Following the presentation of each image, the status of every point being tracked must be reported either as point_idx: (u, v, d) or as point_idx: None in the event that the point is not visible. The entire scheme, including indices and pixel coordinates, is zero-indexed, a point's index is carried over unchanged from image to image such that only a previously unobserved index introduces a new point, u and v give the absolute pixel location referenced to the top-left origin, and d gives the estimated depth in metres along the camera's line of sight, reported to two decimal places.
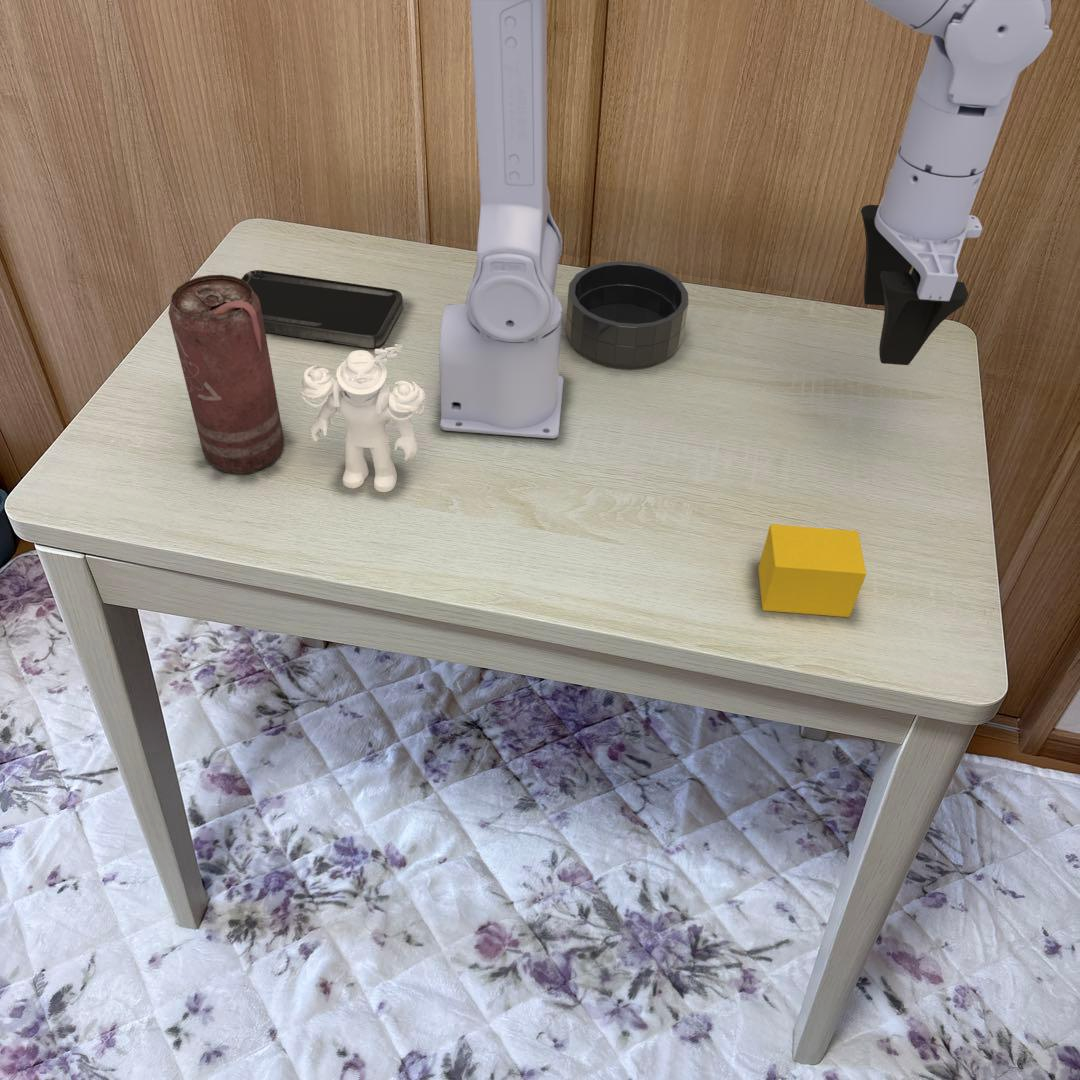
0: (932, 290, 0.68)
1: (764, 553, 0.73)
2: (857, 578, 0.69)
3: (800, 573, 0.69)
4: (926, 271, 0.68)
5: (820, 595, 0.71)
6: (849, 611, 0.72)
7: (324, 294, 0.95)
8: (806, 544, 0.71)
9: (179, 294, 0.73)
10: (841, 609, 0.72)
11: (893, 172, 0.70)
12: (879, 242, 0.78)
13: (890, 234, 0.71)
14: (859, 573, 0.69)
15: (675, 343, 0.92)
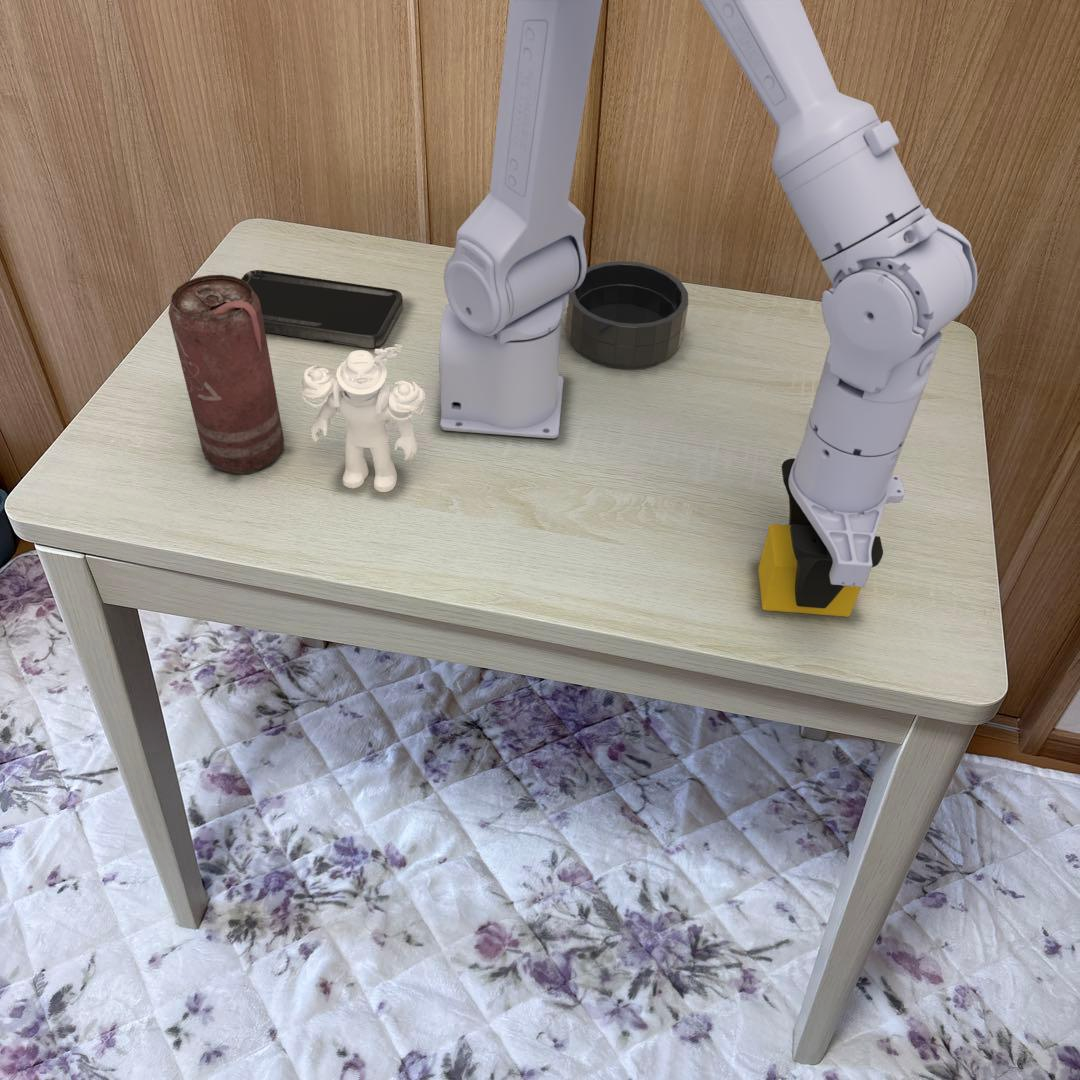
0: (845, 577, 0.62)
1: (764, 553, 0.73)
2: None
3: None
4: (837, 559, 0.61)
5: None
6: (849, 611, 0.72)
7: (324, 294, 0.95)
8: None
9: (179, 294, 0.73)
10: (841, 608, 0.72)
11: (805, 438, 0.64)
12: None
13: (803, 502, 0.65)
14: None
15: (675, 343, 0.92)
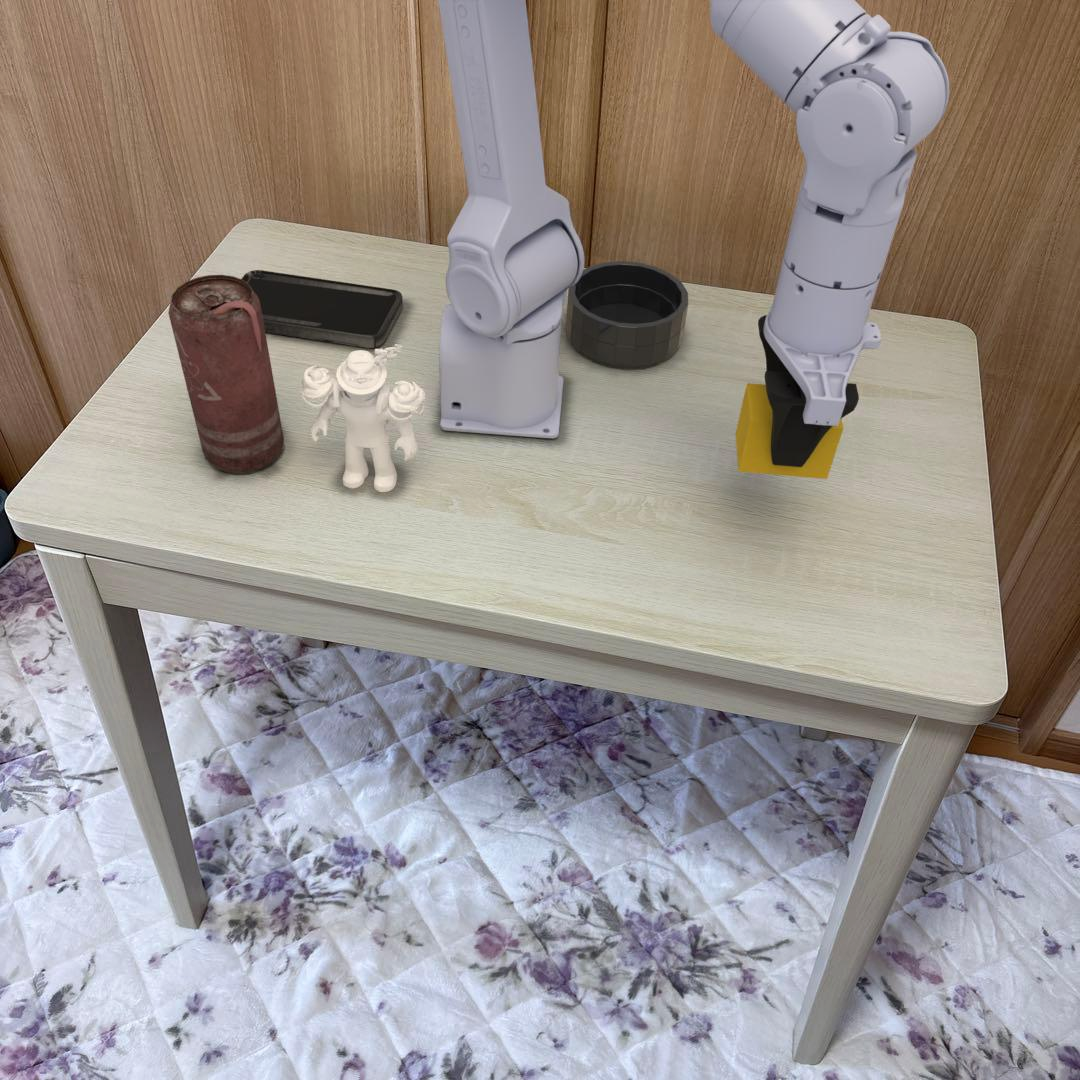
0: (818, 415, 0.61)
1: (741, 415, 0.72)
2: (834, 433, 0.68)
3: None
4: (811, 395, 0.60)
5: None
6: (826, 472, 0.71)
7: (324, 294, 0.95)
8: None
9: (179, 294, 0.73)
10: (819, 469, 0.70)
11: (779, 278, 0.63)
12: (778, 357, 0.69)
13: (777, 346, 0.64)
14: (836, 428, 0.68)
15: (675, 343, 0.92)
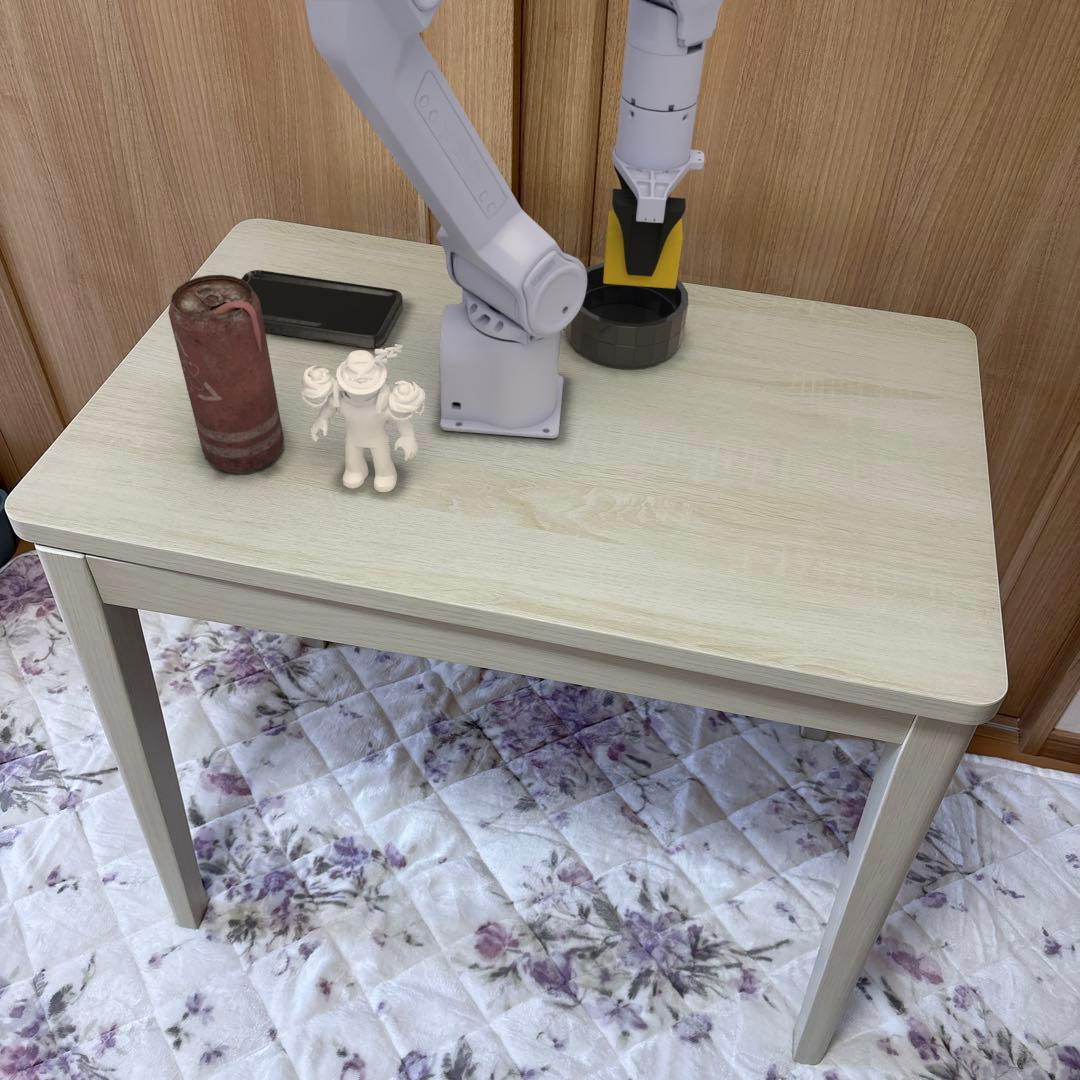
0: (646, 212, 0.77)
1: (606, 238, 0.88)
2: (675, 245, 0.84)
3: None
4: (638, 195, 0.76)
5: None
6: (674, 282, 0.87)
7: (324, 294, 0.95)
8: None
9: (179, 294, 0.73)
10: (667, 280, 0.87)
11: (619, 109, 0.79)
12: None
13: (619, 165, 0.80)
14: (676, 240, 0.84)
15: (675, 343, 0.92)
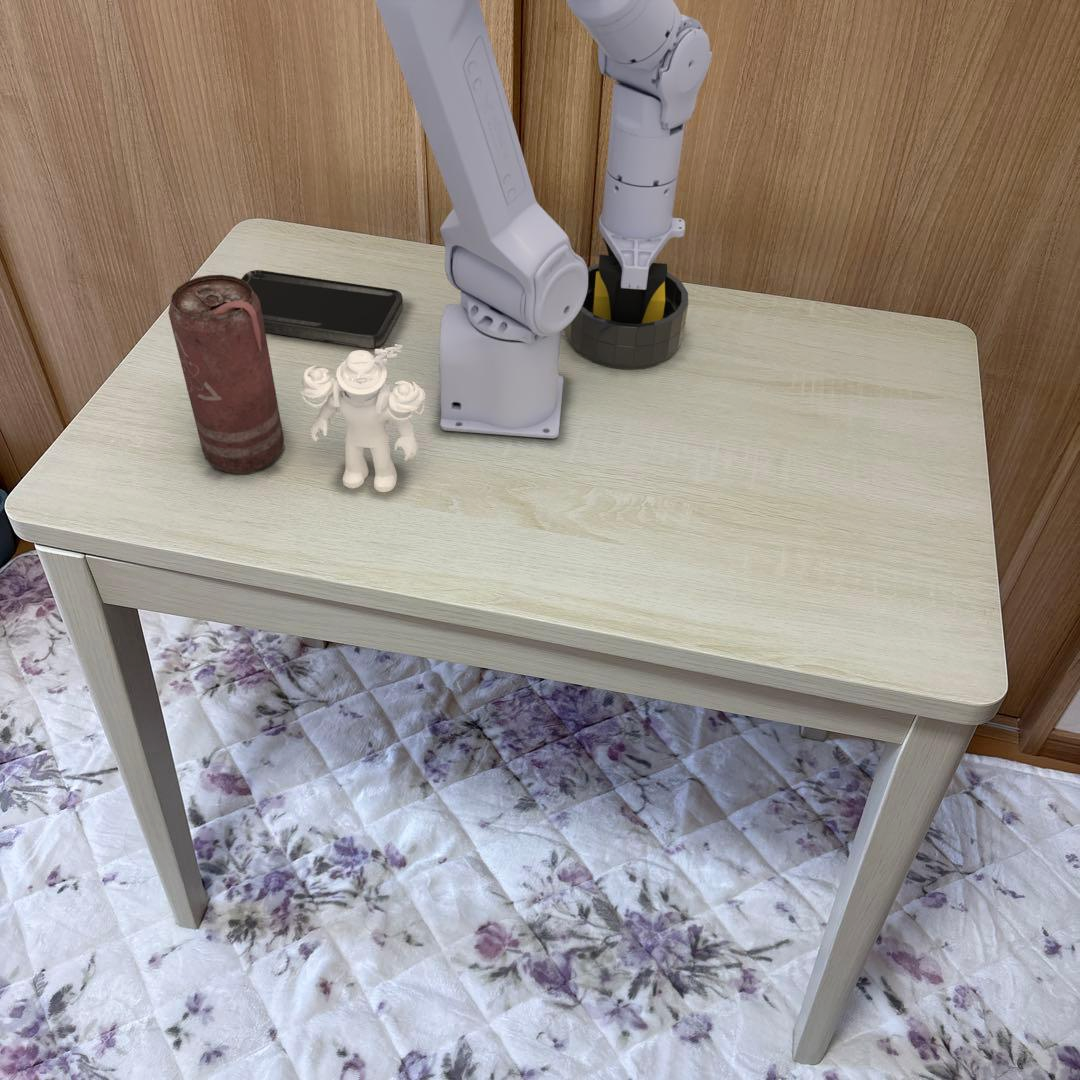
0: (630, 280, 0.82)
1: None
2: (658, 306, 0.90)
3: None
4: (623, 265, 0.82)
5: None
6: None
7: (324, 294, 0.95)
8: None
9: (179, 294, 0.73)
10: None
11: (605, 182, 0.84)
12: None
13: (605, 234, 0.85)
14: (659, 301, 0.90)
15: (675, 343, 0.92)
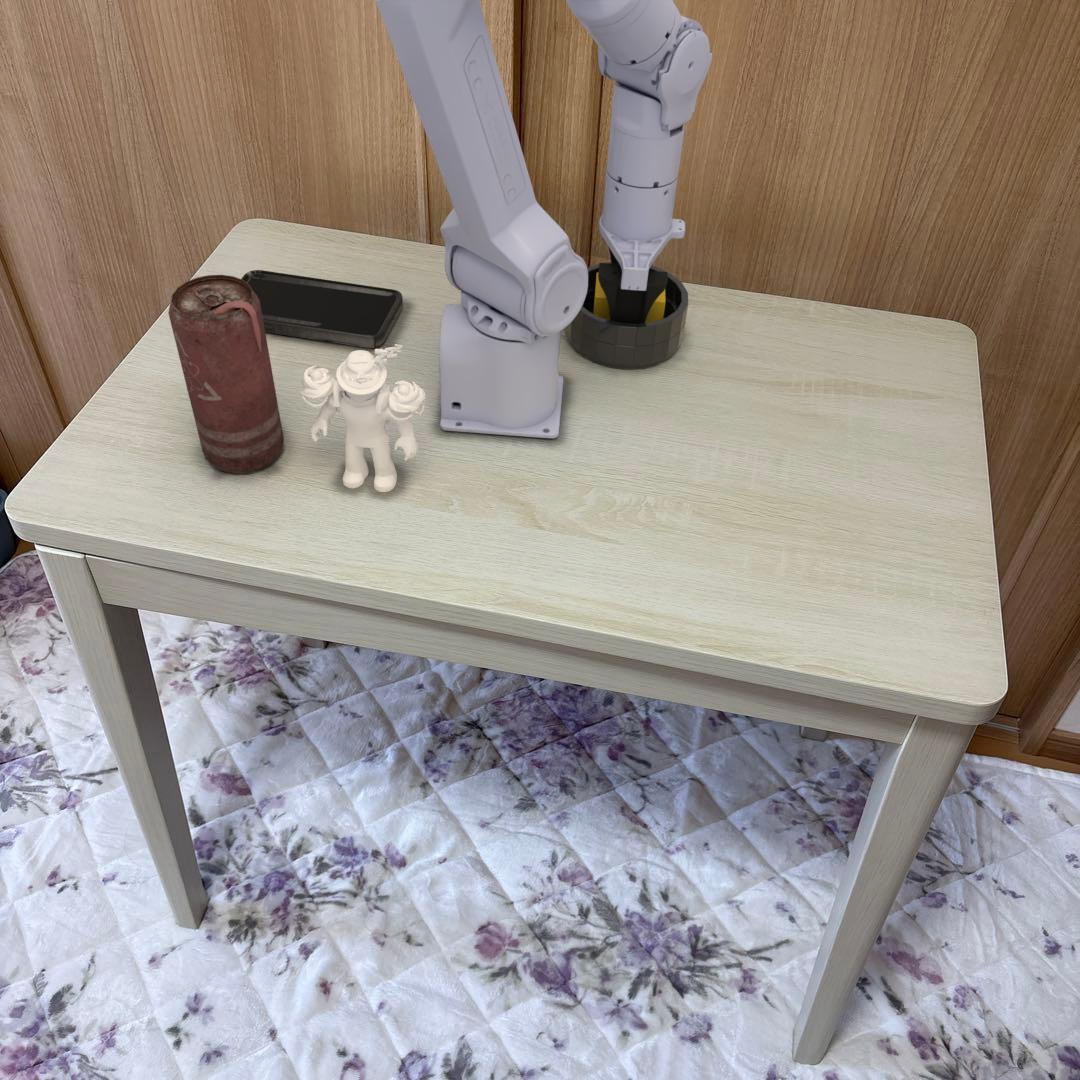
0: (630, 281, 0.82)
1: (594, 298, 0.94)
2: (659, 307, 0.90)
3: None
4: (623, 266, 0.82)
5: None
6: None
7: (324, 294, 0.95)
8: None
9: (179, 294, 0.73)
10: None
11: (605, 184, 0.84)
12: None
13: (605, 235, 0.85)
14: (660, 302, 0.90)
15: (675, 343, 0.92)
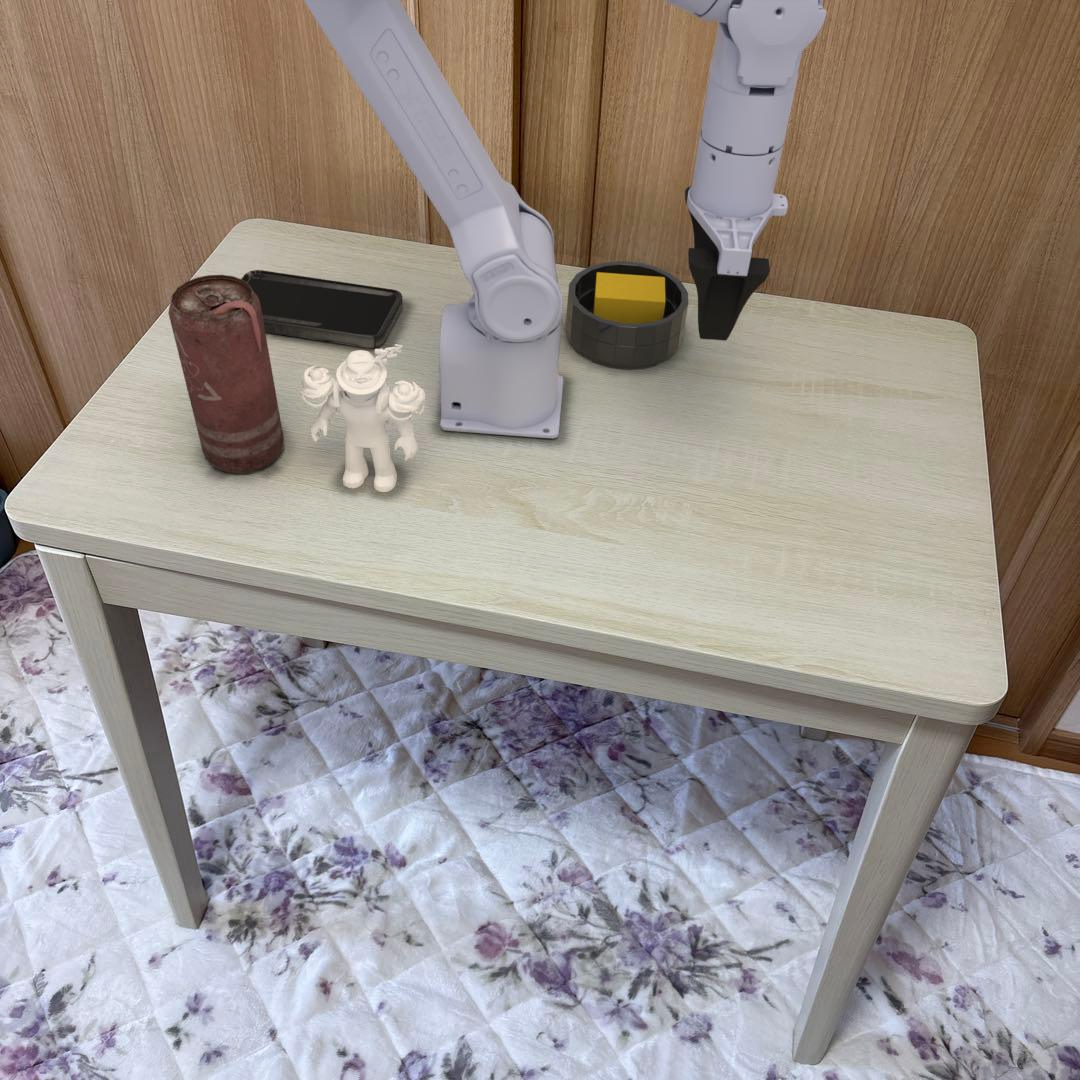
0: (729, 265, 0.71)
1: (594, 298, 0.94)
2: (659, 307, 0.90)
3: (615, 303, 0.90)
4: (722, 247, 0.70)
5: None
6: None
7: (324, 294, 0.95)
8: (622, 284, 0.91)
9: (179, 294, 0.73)
10: None
11: (697, 152, 0.73)
12: None
13: (696, 212, 0.74)
14: (660, 302, 0.90)
15: (675, 343, 0.92)
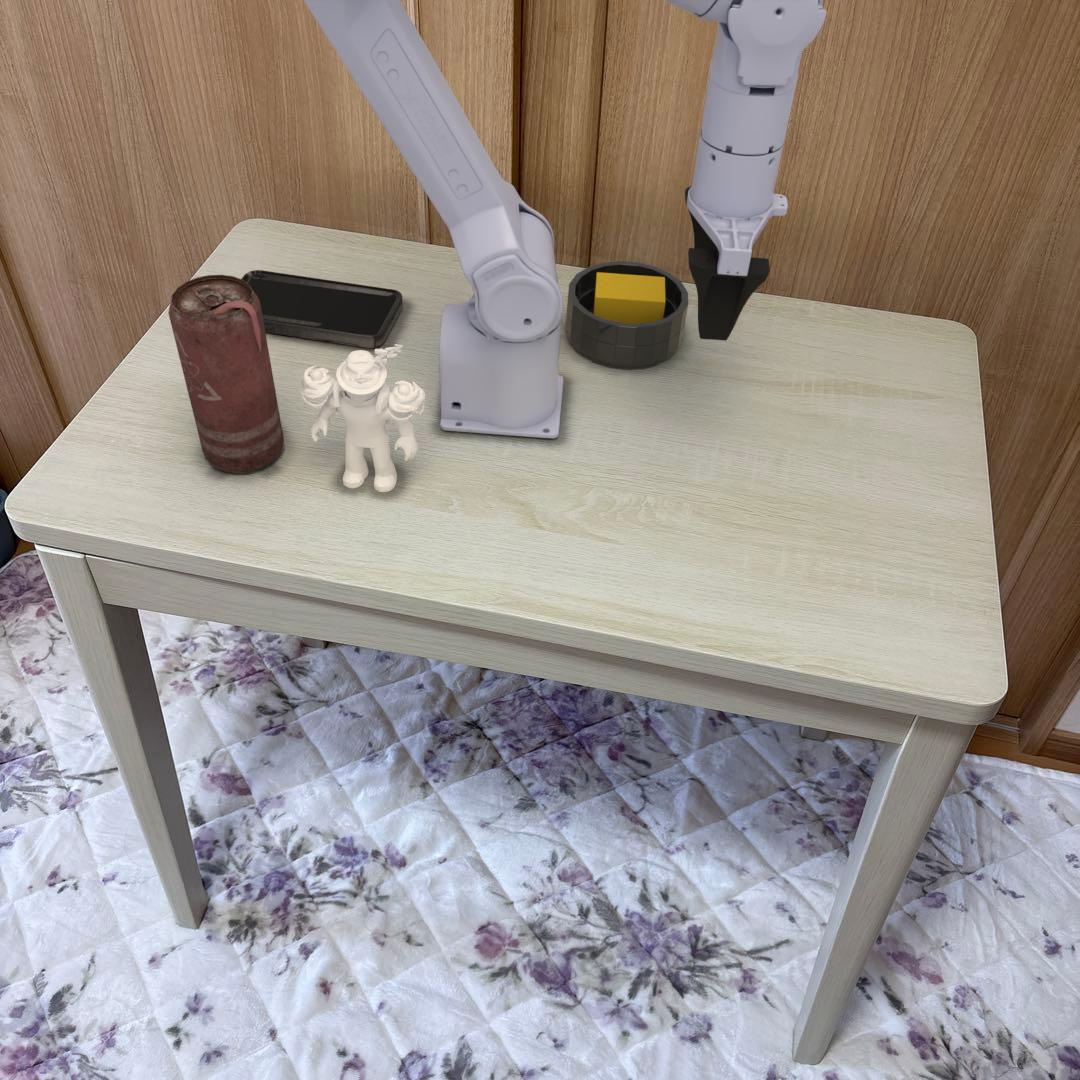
0: (729, 265, 0.71)
1: (594, 298, 0.94)
2: (659, 307, 0.90)
3: (615, 303, 0.90)
4: (722, 247, 0.70)
5: None
6: None
7: (324, 294, 0.95)
8: (622, 284, 0.91)
9: (179, 294, 0.73)
10: None
11: (697, 152, 0.73)
12: None
13: (696, 212, 0.74)
14: (660, 302, 0.90)
15: (675, 343, 0.92)
